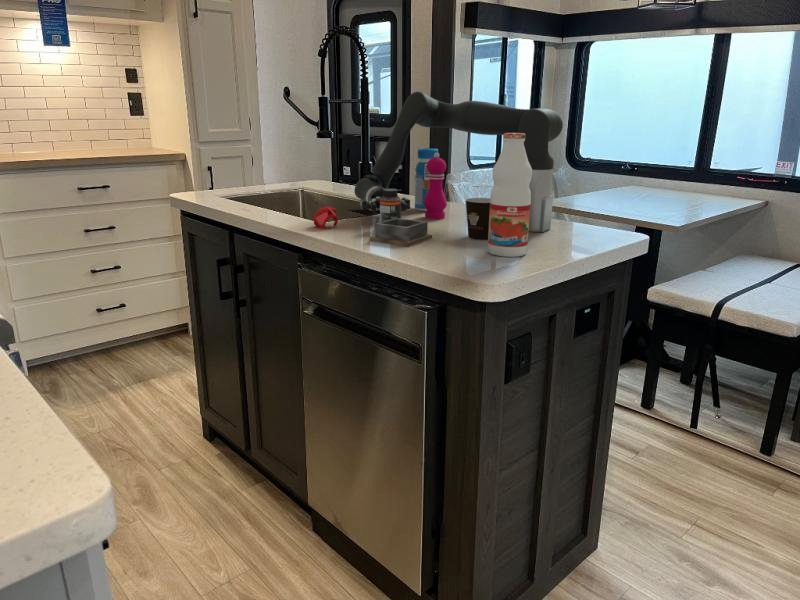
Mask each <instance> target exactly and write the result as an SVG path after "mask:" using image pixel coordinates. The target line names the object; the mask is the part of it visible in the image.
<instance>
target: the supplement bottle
mask: <svg viewBox="0 0 800 600" xmlns="http://www.w3.org/2000/svg"><path fill="white" fill-rule="evenodd" d="M383 194H384V195H383V196H382V197H381V199H380V214H379V218H380V219H379V222H383V221H387V220H390V219H394V218H400V219H402V210H401V199H402V198H401V197H400V196H399V195H398V189H397V188H388V189H384V190H383Z"/></svg>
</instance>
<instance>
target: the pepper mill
mask: <svg viewBox="0 0 800 600" xmlns="http://www.w3.org/2000/svg"><path fill="white" fill-rule="evenodd" d="M446 169H447V163H446V161H445V160H444V159H443V158H441V157H440V153H439V152H438V153H435V154H434V158H432V159H430V160H429V161H428V163H427V170H428V172H429V174H428V179H429V182H430V184H429V190H428V193H427V195H426V197H425V200H424V207H425V208H426V209H427V211H424V218H425V219H428V220H429V219H430V220H442V219H445V217H446V212H445V209H446V208H447V206H448V204H447V203H448V201H447V198H446V195H445V192H444V190H443V180H444V179H445V174H444V172H445V171H446Z"/></svg>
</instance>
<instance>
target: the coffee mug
mask: <svg viewBox="0 0 800 600" xmlns="http://www.w3.org/2000/svg"><path fill="white" fill-rule="evenodd" d="M490 198H491V197H490ZM490 198H488V197H470V198H466V199H465V208H466V211H465V212H466V223H467V226H466V227H467V236H468V237H467V238H469V239H471V240H477V241H486V240H487V241H488V233H489V215H490Z"/></svg>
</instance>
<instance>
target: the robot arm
mask: <svg viewBox="0 0 800 600" xmlns="http://www.w3.org/2000/svg"><path fill="white" fill-rule="evenodd" d="M415 125H418V126H420V127H423V128H424V127H425V128H449V129H453V130H457V131H461V132H465V133H470V134H477V135H482V136H483V135H485V136H504V133H524V134H525V137H526V138H525V141H524V147H525V151H526V155H527V158H528V161H529V164H530V166H531V168H532V177H531V181H530V183H529V189H530V192H531V204H530V217H529V230H528V232H535V233H536V232H541V233H544V232H547V231H549V230H550V229H551V227H552V226H551V224H552V215H553V204H554V203H553V202H554V196H553V195H552V186H553V185H552V184H553V175H554V174H553V173H554V158H553V157H552V156H551V155H550V152H549V142H551V141H553V140H555V139H556V138H558V136H560V135H561V133H562V131H563V127H564V123H563V120H562V118H561V116H560V114H558V112H556V111H554V110H553V109H552V108H551V109H550V108H541V107H539V108H529V109H528V108H518V107H517V108H516V107H511V106H508V105H504V104H499V103H493V102H489V101H488V102H487V101H480V100H467V101H463V102H460V103H447V102H444V101H441V100H438V99H435V98H433V97H431V96H429V95H428V94H426V93H424V92H422V91H415V92H412V93H410V94H409V96H408V97H407V98H406V100H405V101H404V103H403V105H402V107H401V110H400V113H399V115H398V118H397V120H396V122H395V124H394V127H393V129H392V131H391V135H390V137H389V139H388V141H387V143H386V145H385V147H384V148H383V151H381V154H380V156H379V157H378V159H377V160H376V162H375V163H374V166H373V167H372V173H373V175H374V176H375V177H376V178H378V179H379V180H380V184H378V183H376V182H374V181H372V180H370V179H369V178H366V177H364V178H361V179H359V180H358V181H357V182H356V184H355V186H354V195H355V196H356V198H358V199H359V200H360V209H361V210H362V211H367V209H368V211H370V212H371V211H372V212H374V213H376V214H379V215H380V199H381V197H382V196H383V195H384V194H383V190H384V189H389V185H390V183H391V181H392V179H393V177H394V175H395V174H396V172H397V171H398V169H399V167H400V166H401V164H402V162H403V159H404V156H405V151H406V144H407V141H408V136H409V134H410V132H411V131H412V129H413V128H414V126H415ZM400 199H401V212H406V210H410V209H411V200H410V199H409V198H406V197H401V198H400Z"/></svg>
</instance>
